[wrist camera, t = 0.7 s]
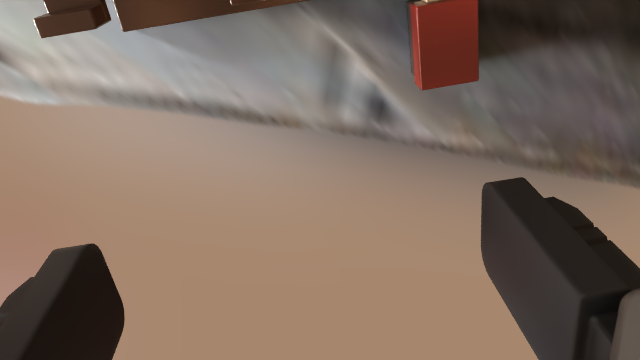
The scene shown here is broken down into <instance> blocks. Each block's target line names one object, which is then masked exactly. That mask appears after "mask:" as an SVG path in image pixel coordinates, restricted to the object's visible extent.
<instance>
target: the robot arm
mask: <svg viewBox="0 0 640 360" xmlns="http://www.w3.org/2000/svg"><path fill="white" fill-rule="evenodd" d="M481 217H482V218H481V251H482V257H483V262H484V265H485V268H486V271H487V273H488V275H489V277H490V278H491V280H492V282H493V284H494V285H495V287H496V289H497V290H498V292H499V294H500V295H501V297H502V299H503V300H504V302H505V304H506V305H507V307H508V309H509V310H510V312H511V314H512V316H513V317H514V319H515V320H516V322H517V324H518V326H519V327H520V329H521V331H522V332H523V334H524V336H525V337H526V339H527V341H528V342H529V344H530V346H531V348H532V349H533V351H534V353H535V354H536V356H537V358H538V359H539V360H640V268H638V266H637V265H636V264H635V263H634V262H633V261H631V260H630V259H629V258H628V257H627V256H626V255H625V254H624V253H623V252H622V251H621V250H620V249H619V248H618V247H617V246H616V245H615V244H614V243H613V242H612V241H611V240H609V241H608V240H607V236H605V235H604V234H603V233H602V232H601V231H600V230H599V229H598V228H597V227H594V225H593V223H592V222H591V221H590V220H589V219H588V218H587V217H586V216H585V215H584V214H583V213H582V212H581V211H580V210H578V209H577V208H575V207H573V206H571V205H569V204H567V203H565V202H563V201H561V200H559V199H557V198H555V197H549V198H543V197H542V196H541V195H540V194H539V193H538V192H537V190H536V189H535V188H534V187H533V186H532V185H531V184H530V183H529V182H528V181H527V180H526V179H525V178H522V177H521V178H514V179H508V180H502V181H495V182H488V183H485V184H484V186H483V189H482V215H481ZM123 327H124V308H123V303H122V300H121V298H120V295H119V293H118V290H117V288H116V286H115V283H114V281H113V278H112V276H111V274H110V271H109V269H108V266H107V264H106V262H105V259H104V257H103V254H102V252H101V250H100V249H99V247H98V246H97V245H95V244H86V245H79V246H74V247H67V248H60V249H55V250H53V251H52V252H51V254H50V255H49V256H48V258H47V259H46V261H45V262H44V264H43V265H42V267H41V268H40V270H39V271H38V273H37V274H36V276H35V277H31V278H29V279H28V280H27V281H26V282H25V283H23V284H22V285H21V286H20V287H19V288H17V289H16V290H15V291H14V292H13V293H11V294H10V295H9V296H8V297H7V298H6V300H5V301H4V303H3V304H2V306H1V307H0V360H112V358H113V355H114V353H115V350H116V348H117V345H118V342H119V339H120V337H121V334H122V331H123Z"/></svg>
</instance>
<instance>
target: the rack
mask: <svg viewBox="0 0 640 360" xmlns="http://www.w3.org/2000/svg"><path fill="white" fill-rule="evenodd" d="M302 1H308V0H113V3H114V6H115V9H116V12H117V15H118V19H119V22H120V25H121V28H122V31H123V32H127V31H132V30H138V29H144V28H150V27H156V26H162V25H168V24H173V23H179V22H185V21H191V20H197V19H203V18H209V17H214V16H220V15H226V14H232V13H238V12H244V11H249V10H255V9H261V8H267V7H273V6H279V5H285V4H290V3H296V2H302ZM43 2H44V4H45V7H46V10H47V12H48V13H47V14H45V15H42V16H39V17H37V18H34V19H33V20H34V23H35V26H36V28H37V31H38V33H39V36H40V37H41V38H46V37H52V36H58V35H64V34H69V33H75V32H81V31H87V30H93V29H97V28H99V27H100V26H102V25H104V24H106V23H107V22H109V21H111V17H110V14H109V11H108V8H107V5H106V2H105V0H43Z"/></svg>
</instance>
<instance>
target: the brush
mask: <svg viewBox="0 0 640 360" xmlns="http://www.w3.org/2000/svg"><path fill="white" fill-rule="evenodd" d="M407 16H408V30H409V45H410V59H411V72H412V74H413V75H414V76H415V83H416V84H417V86H418V87H419V88H420V89H421V90H427V89H433V88H439V87H444V86H450V85H456V84H462V83H468V82H474V81H478V80H479V56H478V0H413V1H408V2H407Z"/></svg>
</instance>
